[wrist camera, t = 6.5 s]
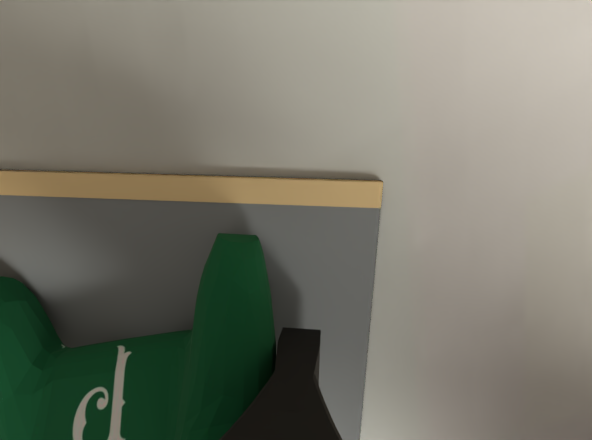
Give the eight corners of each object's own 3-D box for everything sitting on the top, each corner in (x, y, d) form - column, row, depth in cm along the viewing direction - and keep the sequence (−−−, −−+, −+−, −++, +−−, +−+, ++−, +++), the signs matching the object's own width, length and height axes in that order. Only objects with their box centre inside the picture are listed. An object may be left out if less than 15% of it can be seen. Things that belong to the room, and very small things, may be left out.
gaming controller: (55, 304, 14) (14, 499, 11) (-52, 275, 10) (-151, 546, 7) (287, 263, 12) (308, 474, 9) (251, 214, 9) (267, 519, 6)
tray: (381, 180, 9) (398, 204, 7) (353, 496, 13) (358, 577, 11) (-64, 167, 10) (-173, 185, 8) (28, 464, 14) (-29, 532, 12)
